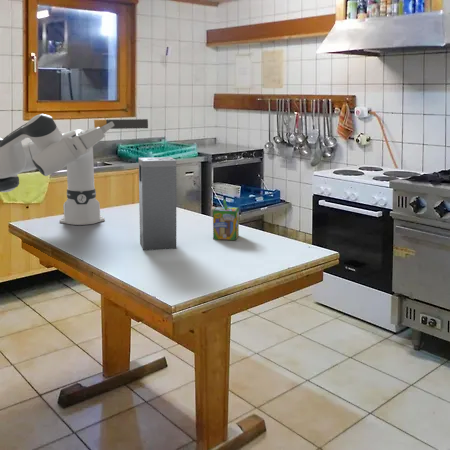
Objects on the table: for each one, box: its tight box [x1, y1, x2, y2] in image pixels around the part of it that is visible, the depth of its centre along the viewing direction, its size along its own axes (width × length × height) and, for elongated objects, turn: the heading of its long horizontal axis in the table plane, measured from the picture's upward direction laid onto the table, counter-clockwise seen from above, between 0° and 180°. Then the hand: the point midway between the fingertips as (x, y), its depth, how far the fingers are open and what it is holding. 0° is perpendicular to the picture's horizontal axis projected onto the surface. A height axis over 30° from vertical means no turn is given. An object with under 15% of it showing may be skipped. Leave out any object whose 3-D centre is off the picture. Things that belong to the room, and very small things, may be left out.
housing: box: [138, 156, 177, 251], centre depth 210 cm, size 10×12×32 cm
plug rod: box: [93, 118, 149, 130], centre depth 200 cm, size 3×18×3 cm, turn 104°
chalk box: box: [212, 199, 240, 241], centre depth 226 cm, size 9×9×15 cm
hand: (113, 122), depth 199 cm, fingers closed on plug rod, 3 cm apart
